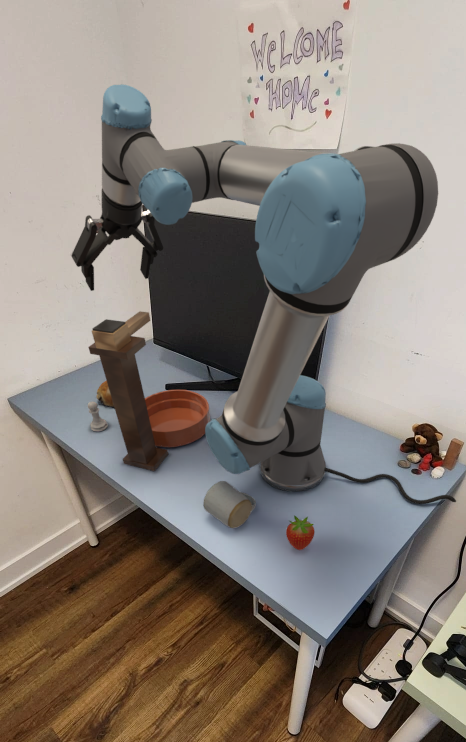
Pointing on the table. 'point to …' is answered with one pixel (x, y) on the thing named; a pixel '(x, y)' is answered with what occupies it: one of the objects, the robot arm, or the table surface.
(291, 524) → the fruit
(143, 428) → the stand
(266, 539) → the table surface
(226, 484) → the ceramic mug
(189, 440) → the bowl
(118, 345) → the hairbrush
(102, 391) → the bread roll
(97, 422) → the chess piece
